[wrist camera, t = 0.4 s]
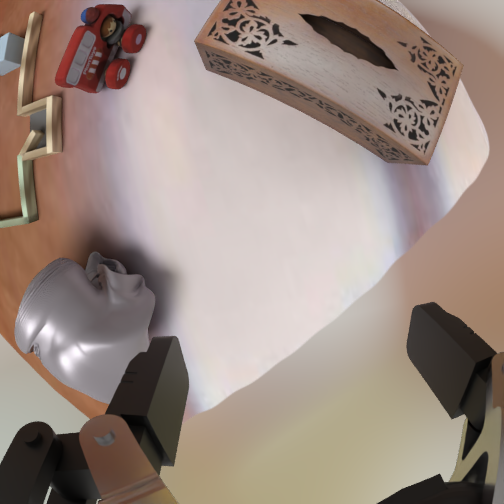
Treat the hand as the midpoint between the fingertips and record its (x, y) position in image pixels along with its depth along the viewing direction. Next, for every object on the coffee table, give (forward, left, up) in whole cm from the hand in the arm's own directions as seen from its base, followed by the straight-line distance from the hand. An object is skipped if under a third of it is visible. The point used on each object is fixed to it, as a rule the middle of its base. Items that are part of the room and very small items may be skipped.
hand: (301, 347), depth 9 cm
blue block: (-29, -38, -29) cm, 56 cm away
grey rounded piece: (+14, -23, -29) cm, 39 cm away
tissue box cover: (-18, +9, -29) cm, 36 cm away
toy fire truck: (-22, -18, -29) cm, 41 cm away
